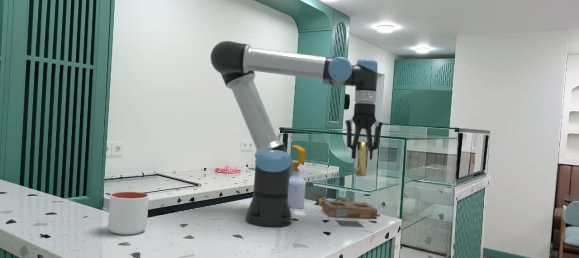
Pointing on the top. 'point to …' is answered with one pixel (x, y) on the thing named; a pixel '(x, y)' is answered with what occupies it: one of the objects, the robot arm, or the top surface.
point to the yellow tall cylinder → (362, 158)
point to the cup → (128, 212)
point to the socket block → (349, 209)
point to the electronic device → (320, 200)
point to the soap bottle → (297, 183)
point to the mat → (349, 223)
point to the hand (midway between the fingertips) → (361, 168)
